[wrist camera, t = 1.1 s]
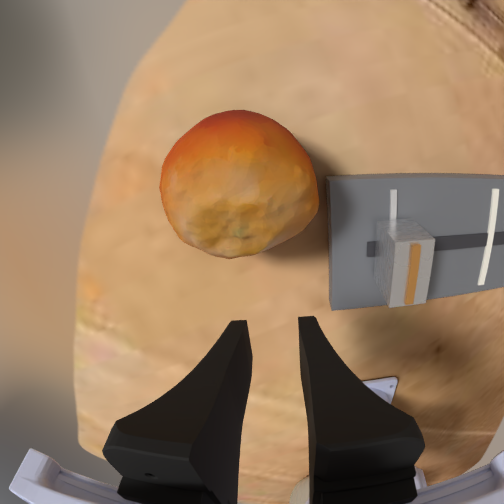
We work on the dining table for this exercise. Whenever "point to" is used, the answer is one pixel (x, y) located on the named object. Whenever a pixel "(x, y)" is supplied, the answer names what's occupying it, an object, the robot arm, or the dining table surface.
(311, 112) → the dining table surface
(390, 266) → the fader cap
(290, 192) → the fruit
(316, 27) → the dining table surface
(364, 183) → the board
